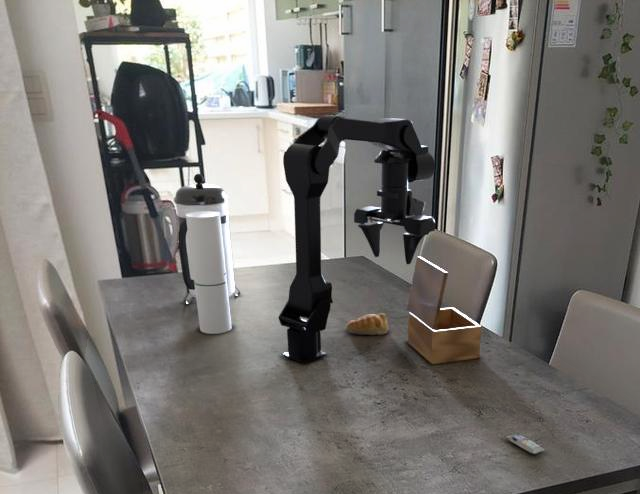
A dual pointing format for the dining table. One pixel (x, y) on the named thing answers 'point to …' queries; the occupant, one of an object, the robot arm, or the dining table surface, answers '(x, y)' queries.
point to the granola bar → (525, 443)
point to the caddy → (445, 337)
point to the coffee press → (187, 202)
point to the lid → (427, 292)
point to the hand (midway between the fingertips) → (392, 260)
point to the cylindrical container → (209, 271)
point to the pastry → (368, 325)
